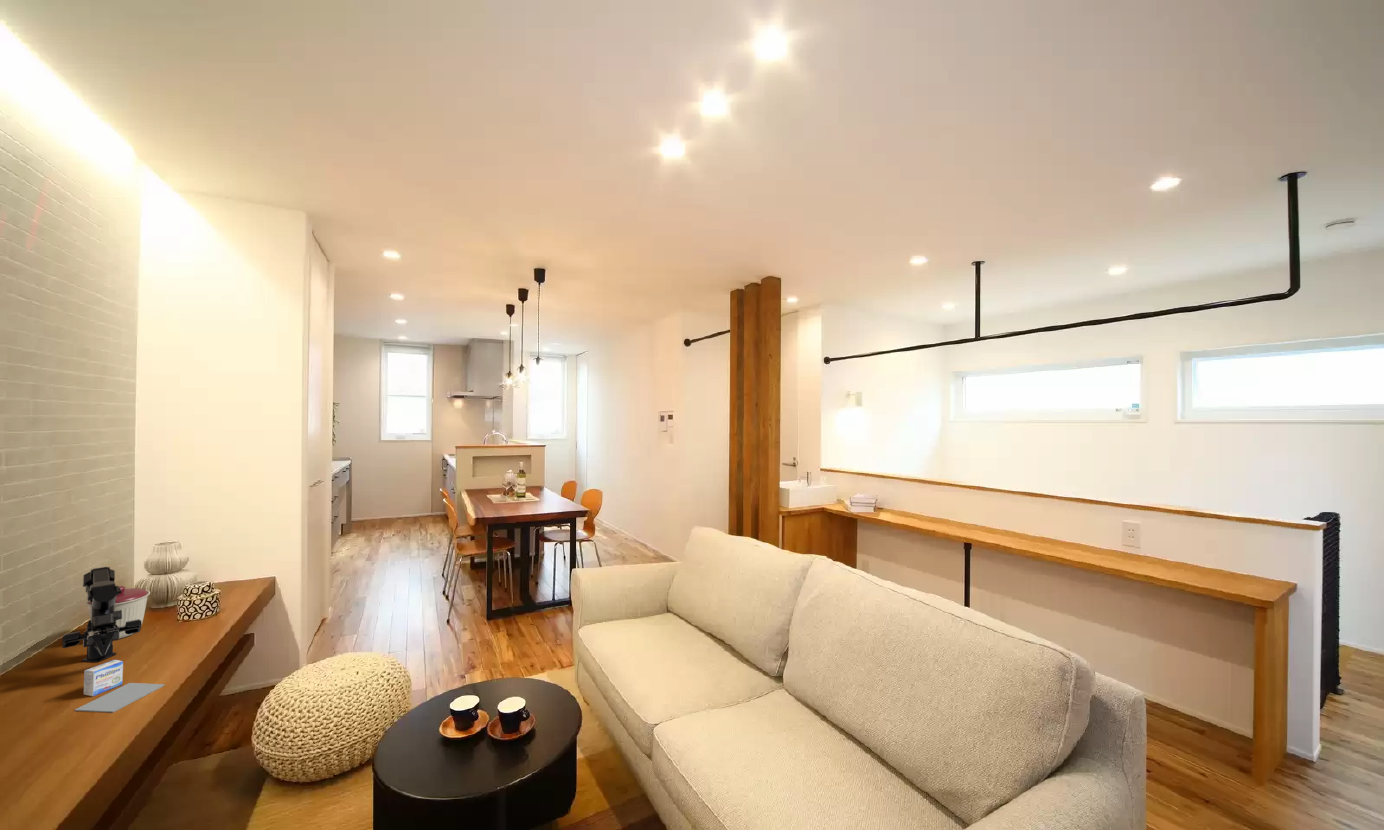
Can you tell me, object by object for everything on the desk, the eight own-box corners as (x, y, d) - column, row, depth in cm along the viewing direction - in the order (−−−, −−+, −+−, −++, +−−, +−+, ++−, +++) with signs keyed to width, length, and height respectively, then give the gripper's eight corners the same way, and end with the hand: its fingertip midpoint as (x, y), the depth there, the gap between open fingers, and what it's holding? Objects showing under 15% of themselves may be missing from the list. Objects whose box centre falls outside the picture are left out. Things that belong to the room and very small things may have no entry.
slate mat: (74, 710, 163) (74, 709, 163) (129, 683, 179) (129, 682, 179) (112, 712, 163) (112, 711, 163) (164, 685, 179) (164, 684, 179)
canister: (81, 636, 211) (83, 586, 210) (144, 622, 225) (146, 576, 225) (87, 649, 200) (88, 597, 200) (152, 634, 215) (154, 585, 215)
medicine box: (92, 696, 171) (93, 671, 170) (82, 694, 171) (83, 669, 171) (122, 684, 178) (123, 660, 178) (113, 682, 179) (114, 658, 179)
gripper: (63, 612, 176) (62, 653, 169) (142, 598, 191) (143, 636, 184) (63, 627, 181) (61, 668, 174) (139, 612, 196) (140, 649, 189)
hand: (103, 654), depth 180 cm, fingers closed
